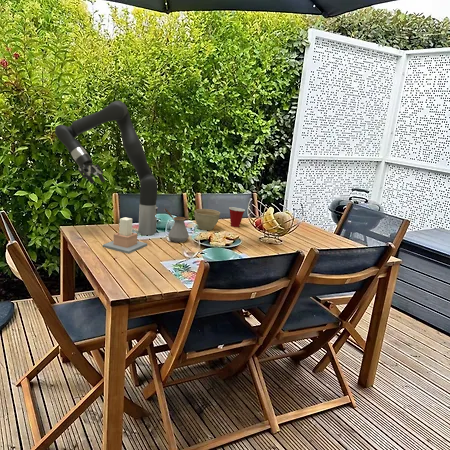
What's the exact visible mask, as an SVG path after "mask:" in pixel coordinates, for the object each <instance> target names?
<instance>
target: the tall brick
mask: <svg viewBox="0 0 450 450" xmlns="http://www.w3.org/2000/svg"><path fill="white" fill-rule="evenodd" d="M118 227H119V229H118V232H119V235H122V236H130V235H132V232H133V218H131V217H126V216H125V217H122V218H119V225H118Z"/></svg>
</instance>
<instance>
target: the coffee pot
mask: <svg viewBox="0 0 450 450" xmlns="http://www.w3.org/2000/svg"><path fill="white" fill-rule="evenodd" d="M162 211H165V212H166V213H167V215H168V216H169V217H170V218H171V219H172V220H173V221H174V222H173V225H172V226H171V229H170V230H169V233H168V238H169V239H170V240H171V241H172V242H175V243H185V242H186V241H187V240H188V239H189V237H190V235H189V232H188V229H187V226H186V224H185V220H186V219H187V218H186V217H184V216H173V215H172V213H171V212H170V211H169V210H168V209H167V208H166V207H165V208H164V209H162ZM184 241H185V242H184Z"/></svg>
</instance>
